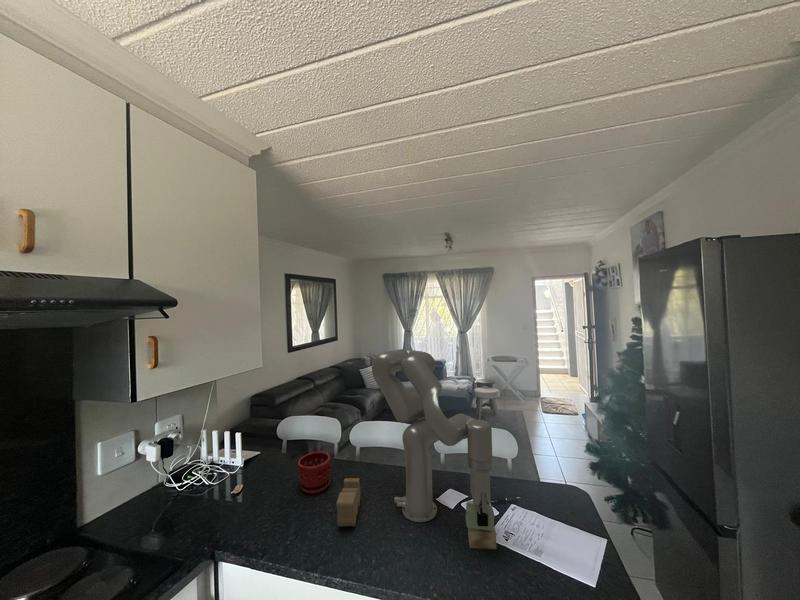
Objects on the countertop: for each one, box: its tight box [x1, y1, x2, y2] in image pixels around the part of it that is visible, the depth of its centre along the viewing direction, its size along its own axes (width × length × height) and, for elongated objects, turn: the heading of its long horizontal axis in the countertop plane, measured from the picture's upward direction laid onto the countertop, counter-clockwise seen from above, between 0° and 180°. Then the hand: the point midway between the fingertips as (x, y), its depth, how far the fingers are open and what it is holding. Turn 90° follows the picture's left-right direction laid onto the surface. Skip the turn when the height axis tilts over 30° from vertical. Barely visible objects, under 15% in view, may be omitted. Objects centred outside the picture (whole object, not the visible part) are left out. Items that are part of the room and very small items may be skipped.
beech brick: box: [467, 527, 497, 550], centre depth 96 cm, size 8×4×5 cm, turn 85°
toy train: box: [335, 477, 362, 527], centre depth 111 cm, size 6×17×10 cm, turn 179°
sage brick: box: [465, 502, 495, 531], centre depth 97 cm, size 8×4×5 cm, turn 85°
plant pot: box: [297, 451, 332, 494], centre depth 128 cm, size 13×13×12 cm
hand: (481, 519), depth 97 cm, fingers closed on sage brick, 3 cm apart
